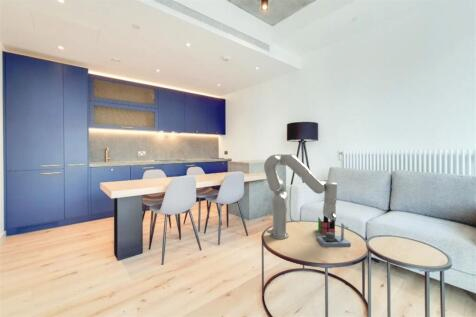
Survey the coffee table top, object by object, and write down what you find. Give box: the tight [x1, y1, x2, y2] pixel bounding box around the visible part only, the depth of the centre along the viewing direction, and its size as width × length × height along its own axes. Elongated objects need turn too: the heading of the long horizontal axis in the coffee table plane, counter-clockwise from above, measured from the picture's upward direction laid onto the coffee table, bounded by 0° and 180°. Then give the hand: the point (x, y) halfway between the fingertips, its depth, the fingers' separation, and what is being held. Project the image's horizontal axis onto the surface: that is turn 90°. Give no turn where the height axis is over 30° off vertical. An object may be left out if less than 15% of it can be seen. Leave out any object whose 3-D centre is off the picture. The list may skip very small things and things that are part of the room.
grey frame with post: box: [316, 222, 352, 248], centre depth 150 cm, size 18×13×13 cm
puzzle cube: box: [317, 216, 336, 235], centre depth 168 cm, size 10×10×10 cm
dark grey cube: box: [324, 232, 336, 243], centre depth 150 cm, size 6×6×6 cm
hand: (328, 225), depth 150 cm, fingers open, 9 cm apart
